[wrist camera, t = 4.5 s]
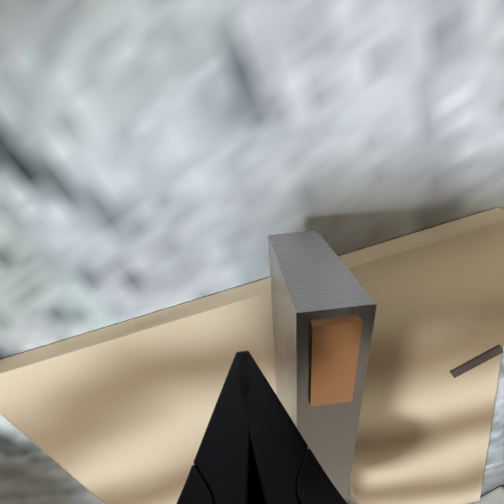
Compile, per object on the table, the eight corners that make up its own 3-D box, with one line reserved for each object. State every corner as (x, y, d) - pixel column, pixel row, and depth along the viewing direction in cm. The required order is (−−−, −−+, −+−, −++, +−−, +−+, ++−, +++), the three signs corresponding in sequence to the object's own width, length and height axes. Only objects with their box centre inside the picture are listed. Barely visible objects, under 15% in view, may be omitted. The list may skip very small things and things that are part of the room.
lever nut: (335, 503, 17) (367, 619, 13) (255, 515, 17) (264, 635, 13) (367, 225, 9) (476, 306, 5) (215, 240, 9) (207, 337, 5)
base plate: (468, 483, 20) (481, 502, 19) (187, 554, 21) (185, 575, 20) (497, 207, 11) (525, 216, 10) (-15, 363, 12) (-37, 386, 11)
